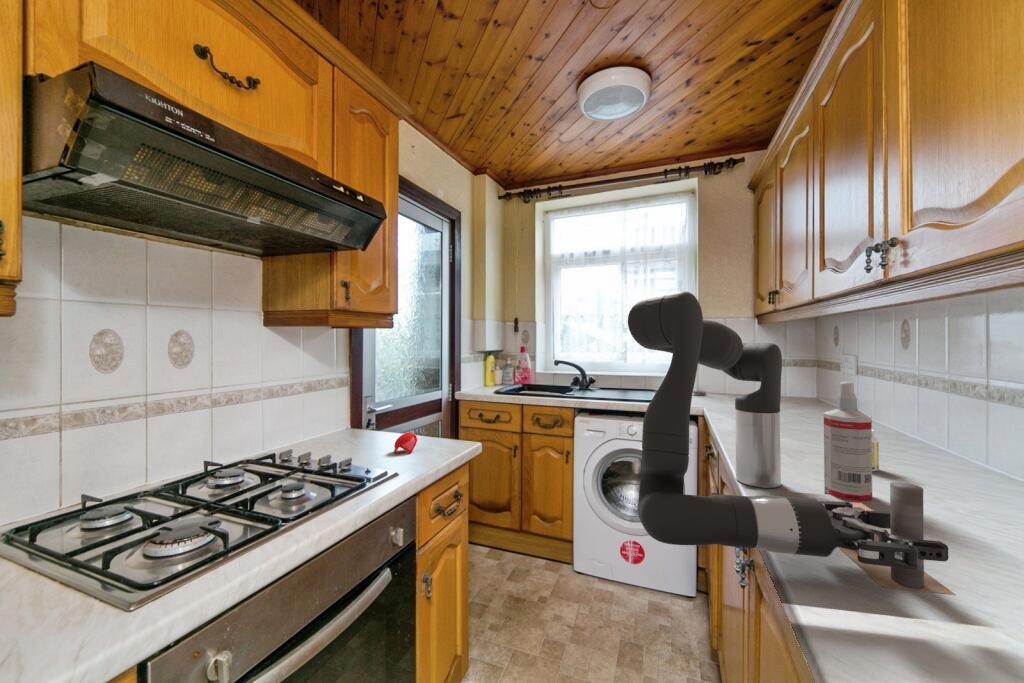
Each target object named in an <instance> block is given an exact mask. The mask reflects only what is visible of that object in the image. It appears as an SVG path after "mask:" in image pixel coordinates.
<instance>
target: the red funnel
mask: <svg viewBox="0 0 1024 683" xmlns="http://www.w3.org/2000/svg"><path fill="white" fill-rule="evenodd" d="M417 443H418V437H417V435H416V434H415V433H414V432H412V431H411V432H410V431H409V432H404V433H402V434H401V435H400V436H399V437H397V439H396V440H395V442H394V446H393V447H394V450H393V454H396V452H397V451H398V450H399V448H400V449H402V450H404V451H406V452H408V453H409V454H412V453H413V451H414V449H415V447H416V445H417Z"/></svg>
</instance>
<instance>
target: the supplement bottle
mask: <svg viewBox="0 0 1024 683" xmlns="http://www.w3.org/2000/svg"><path fill="white" fill-rule="evenodd" d="M879 450H880V448H879V439H878V438H877V437H875V430H874V429H872V472H877V471H878V470H879V469H880V467H879V466H880V465H879V461H880V460H879V459H880V458H879V457H880V456H879V454H880V453H879Z"/></svg>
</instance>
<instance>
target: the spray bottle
mask: <svg viewBox="0 0 1024 683" xmlns="http://www.w3.org/2000/svg"><path fill="white" fill-rule="evenodd" d="M872 420H873V419H872V415H870V414H869V415H868V414H867V413H864V412H862V411H859V409H858V400H857V395H856V394H855V384H854V382H849V381H841V382H840V383H839V393H838V395H837V398H836V408H834V409H833V410H832V409H831V410H829V411H828V410H827V411H825V412H823V466H824V467H823V468H824V469H823V471H824V472H823V473H824V475H823V476H824V478H823V480H824V481H823V483H824V484H823V485H824V489H823V490H824V495H830V496H833V497H836V498H839V499H843V500H848V501H854V502H870V501H872V499H873V471H872V430H873V429H872V428H873V425H872V424H873V422H872Z"/></svg>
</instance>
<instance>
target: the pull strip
mask: <svg viewBox="0 0 1024 683" xmlns="http://www.w3.org/2000/svg"><path fill="white" fill-rule="evenodd" d="M889 489H890V490H889V499H890V500H889V502H890V503H889V506H890V507H889V509H890V510H889V512H890V529H889V530H890V534H891V535H895V536H899V537H902V538H907V539H920V540H925V539H924V537H925V536H924V535H925V534H924V532H925V530H924V527H925V525H924V488H923V487H922V486H919V485H916V484H913V483H908V482H905V481H904V482H903V481H902V482H901V481H892V482H890V483H889ZM890 543H895V542H891V541H890ZM896 544H898V543H896ZM837 548H838V549H839V550H840V551H841V552H842V553H843V554H845V555H846V556H847V557H848V558H849V559H850V560H851V561H852V562H854V563H855V564H856V565H857V566H858V567H859V568H860V569H861V570H863V571H864V573H866V574H867V575H868V576H869V577H870V578H871V579H873V580H874V582H876V583H877V584H878V586H880V587H881V588H885V589H895V590H904V591H913V592H915V591H916V592H922V593H923V592H924V593H932V594H934V593H935V594H941V595H942V594H943V595H944V594H945V595H952V596H953V595H954V596H956V593H954V592H953V591H952V590H950V588H948V587H946V586H945V585H943V584H942V583H941V582H940V581H938V580H937V579H935V578H934V577H933V576H931V575H930V574H929V573H928V572H926V571H925V560H921V559H918V569H917V570H914V569H906V568H897V567H889V566H880V565H872V564H865V563H861V562H859V561H858V560H857V552H856V551H852V550H849V549H846V548H841V547H837ZM895 559H897V558H895Z"/></svg>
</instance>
